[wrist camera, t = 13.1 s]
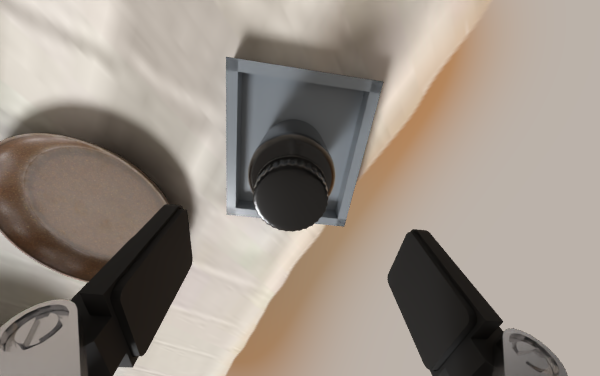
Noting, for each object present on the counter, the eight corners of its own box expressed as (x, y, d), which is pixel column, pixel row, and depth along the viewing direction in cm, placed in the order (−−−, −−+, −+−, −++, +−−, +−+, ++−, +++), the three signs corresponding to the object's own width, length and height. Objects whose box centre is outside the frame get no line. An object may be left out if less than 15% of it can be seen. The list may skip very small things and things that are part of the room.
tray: (233, 59, 21) (226, 56, 19) (374, 81, 22) (383, 81, 20) (231, 203, 28) (226, 214, 26) (340, 215, 29) (344, 226, 27)
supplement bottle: (336, 149, 25) (368, 202, 14) (293, 188, 27) (292, 261, 16) (292, 102, 23) (289, 122, 12) (248, 149, 25) (212, 202, 14)
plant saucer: (140, 289, 35) (126, 309, 32) (-14, 210, 28) (-50, 226, 25) (220, 207, 29) (211, 222, 26) (48, 82, 22) (10, 82, 19)
